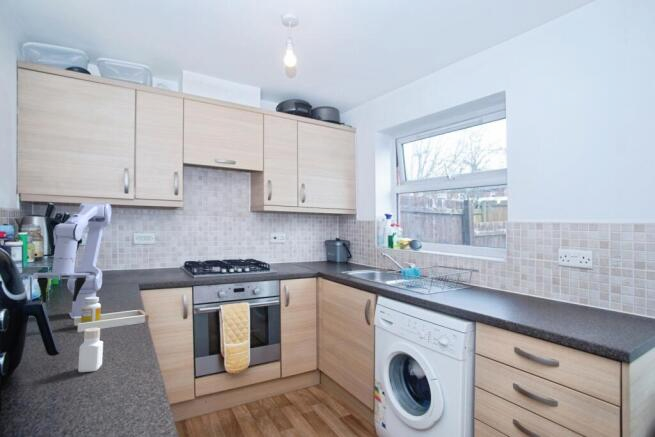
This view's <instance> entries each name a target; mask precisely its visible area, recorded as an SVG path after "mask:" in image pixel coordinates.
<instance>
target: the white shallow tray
mask: <svg viewBox="0 0 655 437" xmlns="http://www.w3.org/2000/svg"><path fill="white" fill-rule="evenodd" d="M149 316H150V315H149V314H148V313H147V312H145V311H144V310H143V309H136V310H135V309H134V310H126V311H117V312H109V313H101V315H100V321H93V322H85V323H81V317H75V318H74V320H73V321H74V322H73V324H74V327H75V326H76V327H77V329H76V330H77V333H82V332H84V331H85V330H86V329H89V328H100V330H102V329H109V328H116V327H123V326H130V325H135V324H143V323H149V318H150V317H149Z"/></svg>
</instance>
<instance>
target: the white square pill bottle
mask: <svg viewBox="0 0 655 437" xmlns="http://www.w3.org/2000/svg"><path fill="white" fill-rule="evenodd" d="M83 332H84V333H83V334H84V335H83V339H84V340H83V342H82V343H81V345H80V346H79V349H78V350H79V352H78V369H77V370H78V372H79V373H88V372H89V373H90V372H96V371H98V370H99V369H100V368H101V367H102V364H103V355H104V354H103V353H104V341H102V340H100V337H101V329H100V328H89V329H86V330H85V331H83Z"/></svg>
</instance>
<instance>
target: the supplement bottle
mask: <svg viewBox="0 0 655 437" xmlns="http://www.w3.org/2000/svg"><path fill="white" fill-rule="evenodd" d="M101 310H102V305H101V303H100V297H99V296H96V297H87V298H85V304H84V305H83V306H82V314H81V323H85V322H93V321H100V315H101V314H102V313H101V312H102V311H101Z"/></svg>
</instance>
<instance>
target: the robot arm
mask: <svg viewBox="0 0 655 437" xmlns="http://www.w3.org/2000/svg"><path fill="white" fill-rule="evenodd" d="M111 217H112V206H111V204H110V203H99V202H95V203H94V202H85V201H84V202H81V203H80V204H79V206H78V213H74V214H72V215H71V216H70V217H69V218H68V219H66V221H65V222H63V223H58V224H56V225H55V226H54V228H53V233H52V234H53V245H54V246H55V247H54V252H53V253H54V254H53V262H52V270H51V272H33V276H32V279H33V280H36V282H37V284H38V286H39V288H40V293H41V299H42V300H41V301H43V302H44V303H46V302H47V301H46V300H47V288H48V282H49V280H67V285H66V286H67V289H68V290H69V292H70V293H71V294H72V306H71V312H68V314H69V317H70V318H71V319H72V320H73V319H75V317H81V314H82V306H83V305H84V304H85V298H87V297H97V291H99V290H100V289H101V288H102V285H103V271H102V270H101V269H100V268H98V267H97V262H98V256H99V251H100V247H101V242H102V239H103V238H102V237H103V234H104V230H105V227H107V226H109V225H110V222H111ZM86 228H88V231H87V237H86V240H85V245H84V249H83V253H82V258H81V261H80V265H79V266H77V267H75V265H76V258H77V257H76V256H77V250H78V241H80V240H81V239H82V236H83V233H84V230H85V229H86ZM59 276H60V277H59ZM65 276H66V277H65Z"/></svg>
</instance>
